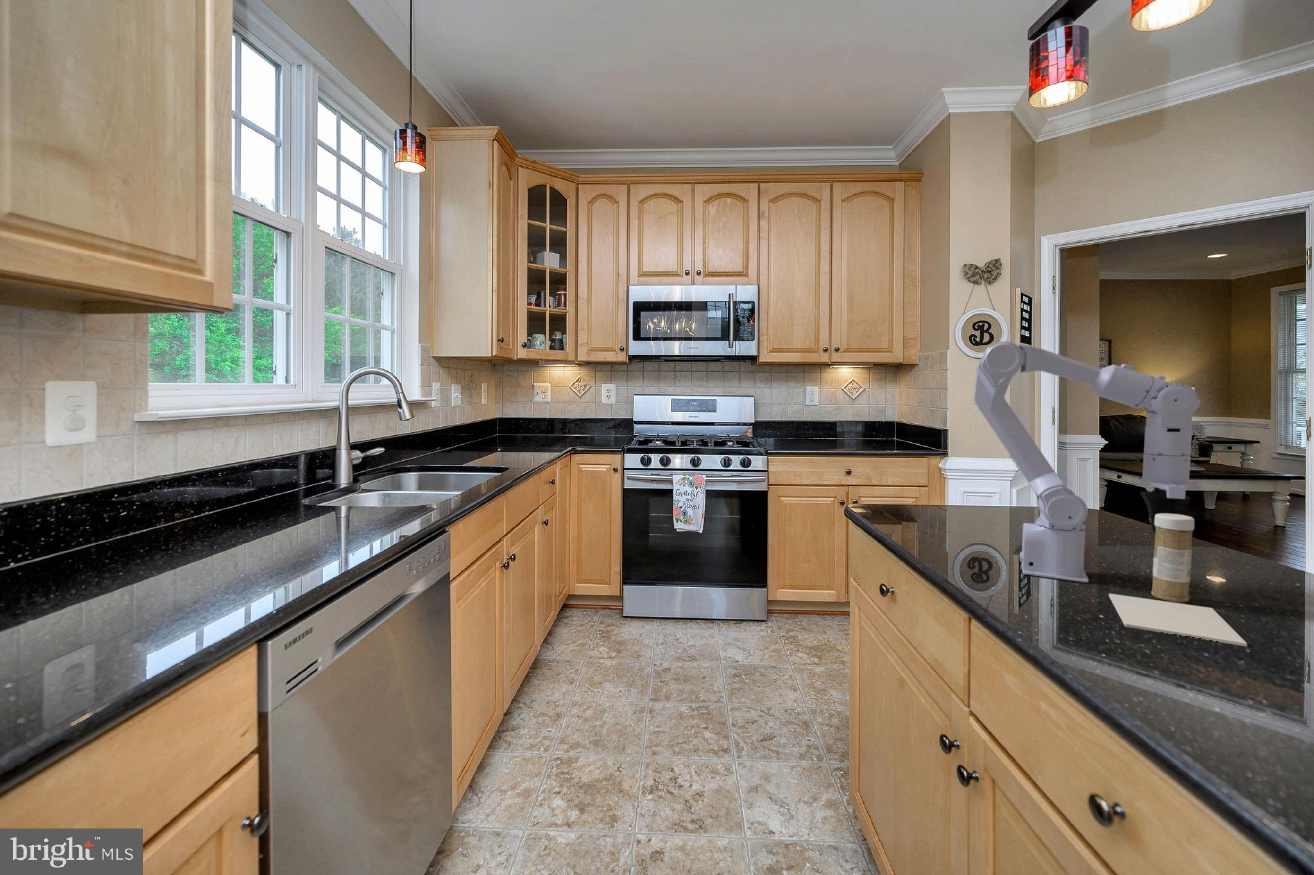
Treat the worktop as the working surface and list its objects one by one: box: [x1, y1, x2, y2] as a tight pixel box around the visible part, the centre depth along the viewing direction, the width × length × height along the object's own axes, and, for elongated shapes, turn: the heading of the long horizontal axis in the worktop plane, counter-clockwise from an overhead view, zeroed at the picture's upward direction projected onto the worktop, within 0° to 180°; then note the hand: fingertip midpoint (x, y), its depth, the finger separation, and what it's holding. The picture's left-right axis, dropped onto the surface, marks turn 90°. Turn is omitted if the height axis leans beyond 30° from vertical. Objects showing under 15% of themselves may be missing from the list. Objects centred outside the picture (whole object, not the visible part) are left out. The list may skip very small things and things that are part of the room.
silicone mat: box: [1108, 593, 1248, 647], centre depth 79 cm, size 12×14×1 cm
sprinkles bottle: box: [1150, 513, 1195, 604], centre depth 86 cm, size 5×5×13 cm
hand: (1162, 534), depth 92 cm, fingers closed
